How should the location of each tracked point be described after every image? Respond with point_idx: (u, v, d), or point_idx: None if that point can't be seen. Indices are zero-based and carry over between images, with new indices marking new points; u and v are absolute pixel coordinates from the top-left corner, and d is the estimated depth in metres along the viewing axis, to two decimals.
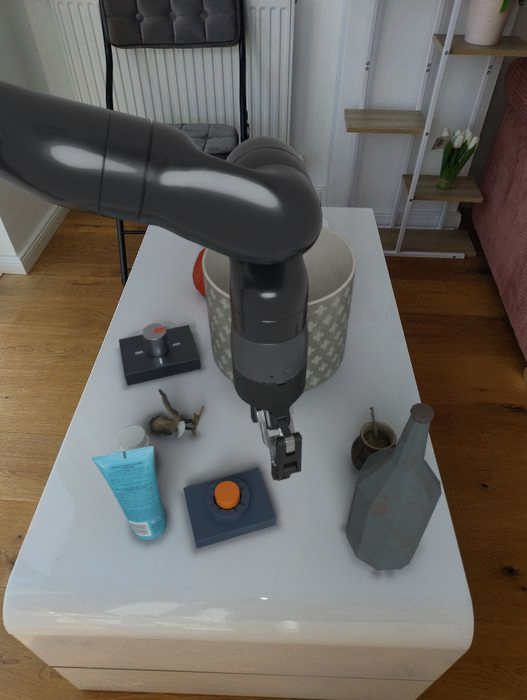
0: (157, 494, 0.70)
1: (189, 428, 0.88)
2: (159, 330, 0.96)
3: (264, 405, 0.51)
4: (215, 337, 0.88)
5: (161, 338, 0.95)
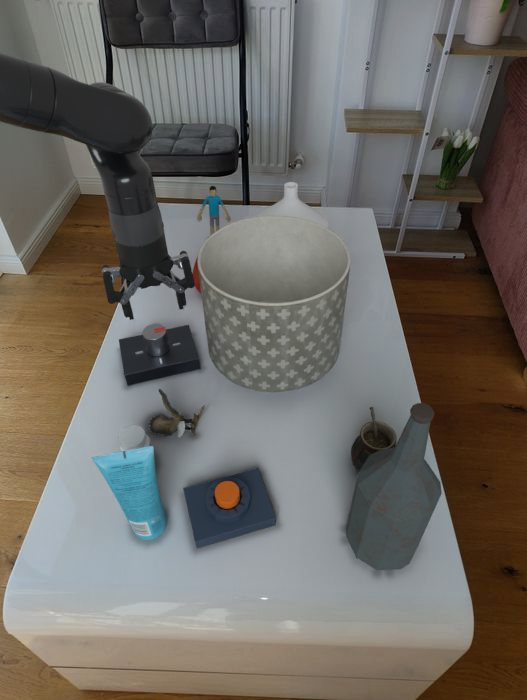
0: (157, 494, 0.70)
1: (189, 428, 0.88)
2: (159, 330, 0.96)
3: None
4: (207, 328, 0.90)
5: (161, 338, 0.95)
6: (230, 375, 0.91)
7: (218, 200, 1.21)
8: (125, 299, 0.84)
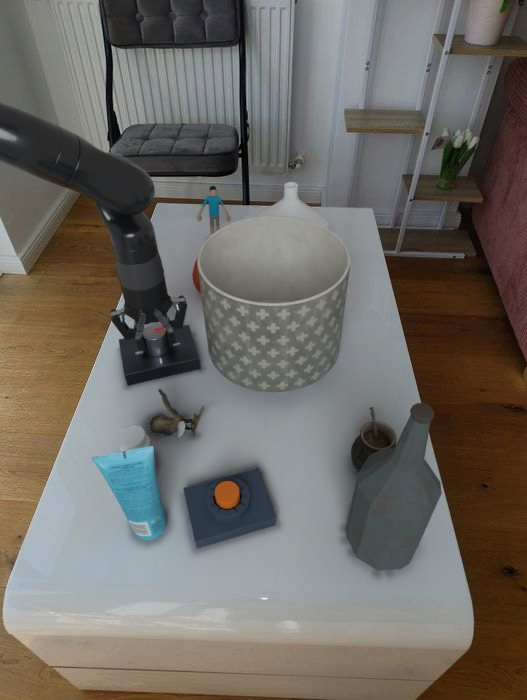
0: (157, 494, 0.70)
1: (189, 428, 0.88)
2: (159, 330, 0.96)
3: None
4: (207, 328, 0.90)
5: (161, 338, 0.95)
6: (230, 375, 0.91)
7: (218, 200, 1.21)
8: (139, 336, 0.94)
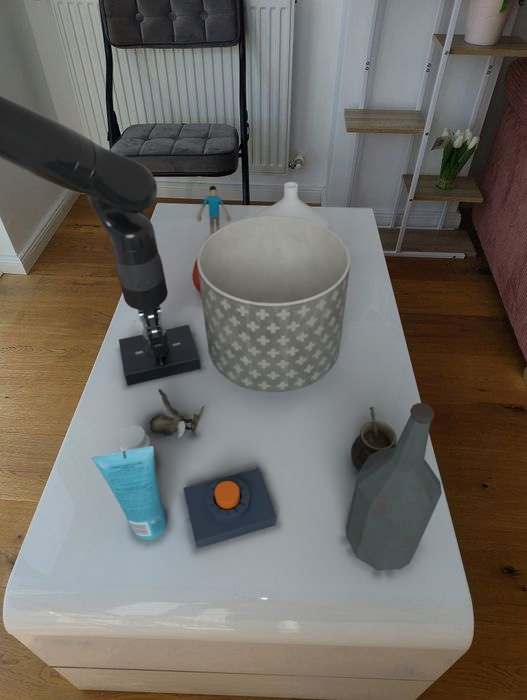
0: (157, 494, 0.70)
1: (189, 428, 0.88)
2: None
3: (138, 306, 0.87)
4: (206, 328, 0.90)
5: None
6: (230, 375, 0.91)
7: (218, 200, 1.21)
8: None
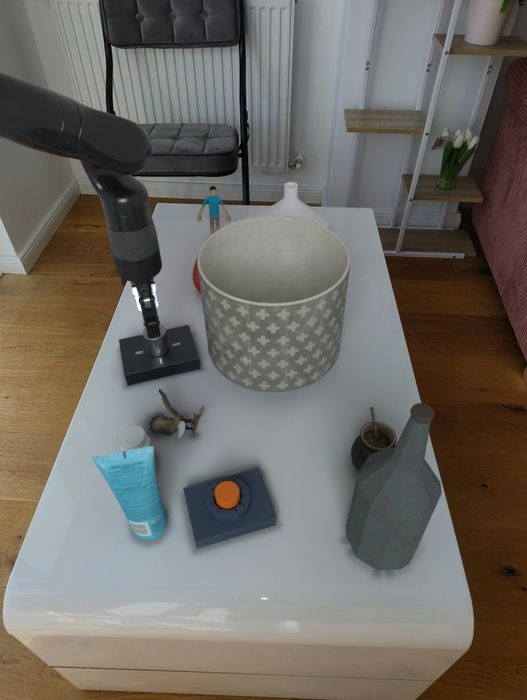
0: (157, 494, 0.70)
1: (189, 428, 0.88)
2: None
3: (131, 278, 0.83)
4: (206, 328, 0.90)
5: None
6: (230, 375, 0.91)
7: (218, 200, 1.21)
8: None
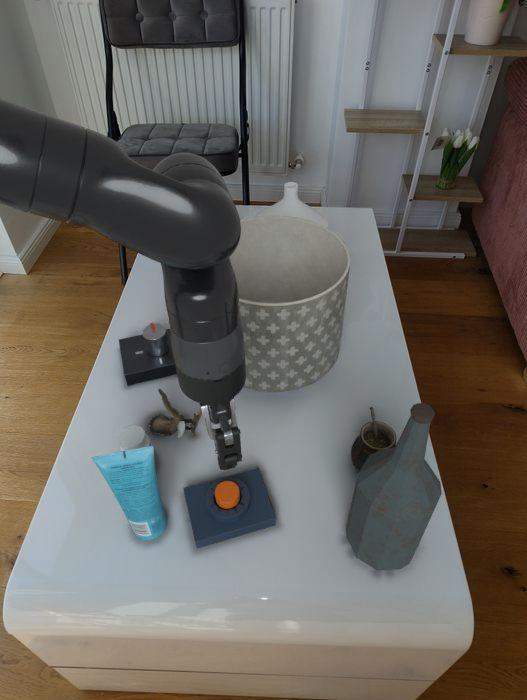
0: (157, 494, 0.70)
1: (189, 428, 0.88)
2: (154, 327, 0.97)
3: (204, 400, 0.55)
4: None
5: None
6: None
7: None
8: None
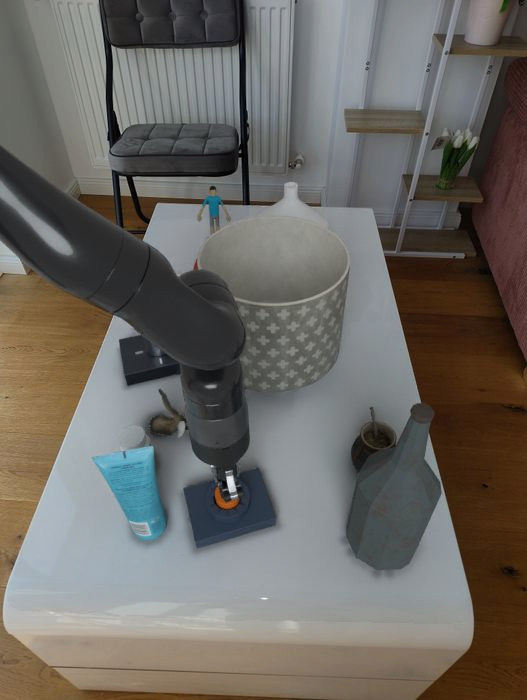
0: (157, 494, 0.70)
1: None
2: None
3: (214, 463, 0.63)
4: None
5: None
6: None
7: (218, 200, 1.21)
8: None
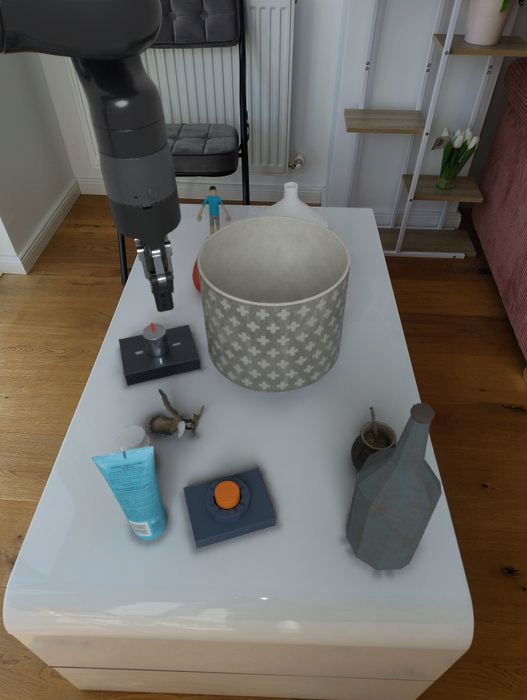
0: (157, 494, 0.70)
1: (189, 428, 0.88)
2: (154, 327, 0.97)
3: (136, 234, 0.56)
4: (206, 328, 0.90)
5: None
6: (230, 375, 0.91)
7: (218, 200, 1.21)
8: None
